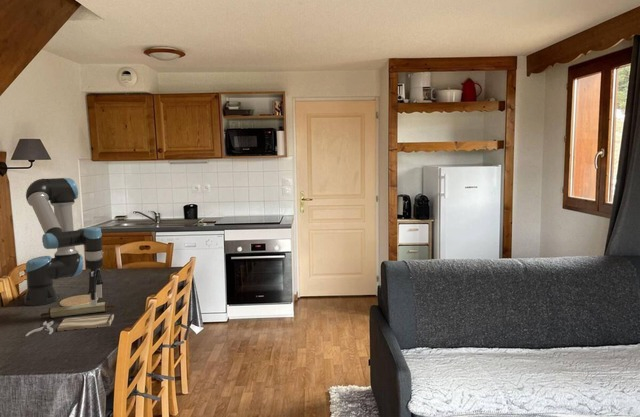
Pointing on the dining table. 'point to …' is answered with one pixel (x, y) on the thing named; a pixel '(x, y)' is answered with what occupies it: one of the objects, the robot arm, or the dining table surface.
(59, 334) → the dining table surface
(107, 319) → the marking board
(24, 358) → the dining table surface
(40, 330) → the pliers
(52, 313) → the rolling pin
